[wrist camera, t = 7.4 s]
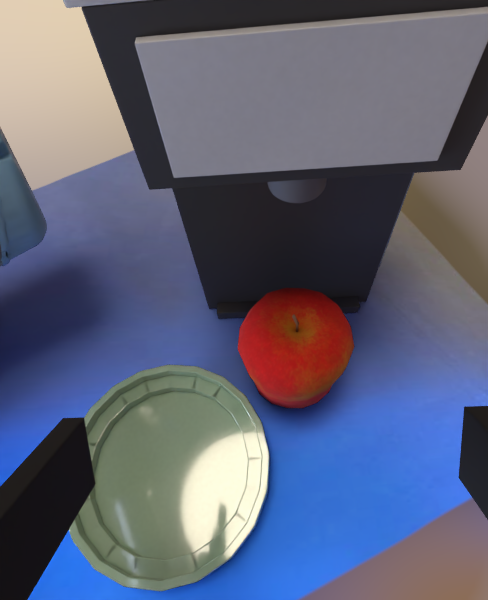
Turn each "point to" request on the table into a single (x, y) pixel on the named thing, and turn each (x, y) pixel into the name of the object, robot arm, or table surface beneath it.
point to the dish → (171, 478)
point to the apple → (295, 346)
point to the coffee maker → (293, 126)
